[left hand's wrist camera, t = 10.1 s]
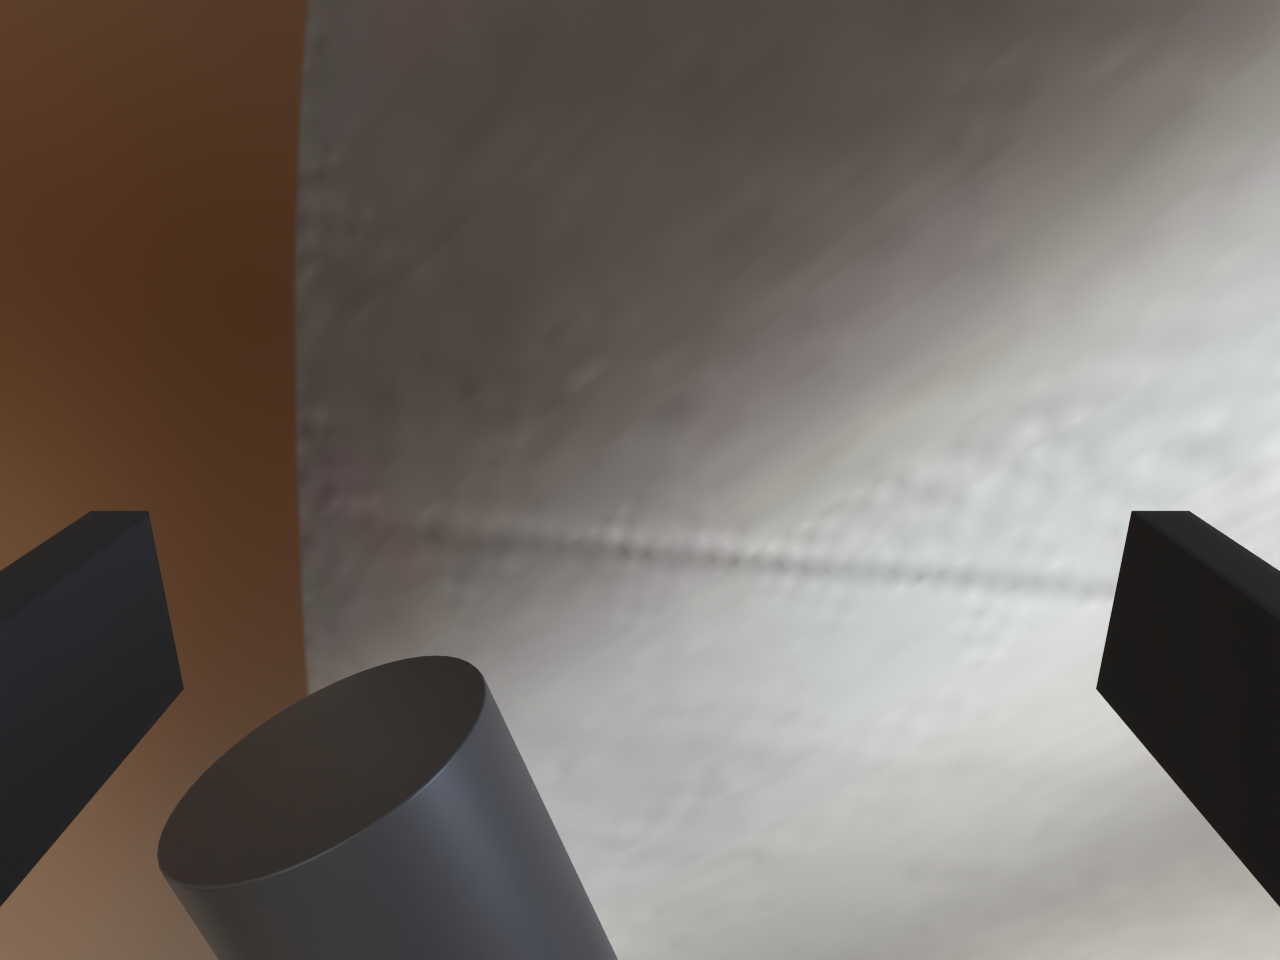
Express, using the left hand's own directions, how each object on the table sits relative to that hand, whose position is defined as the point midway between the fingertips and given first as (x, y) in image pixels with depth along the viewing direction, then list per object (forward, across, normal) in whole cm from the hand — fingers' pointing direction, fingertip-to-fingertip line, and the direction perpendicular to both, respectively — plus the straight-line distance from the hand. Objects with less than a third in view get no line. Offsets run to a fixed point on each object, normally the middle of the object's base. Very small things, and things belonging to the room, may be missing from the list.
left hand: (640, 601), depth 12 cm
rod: (+12, -3, -21) cm, 24 cm away
